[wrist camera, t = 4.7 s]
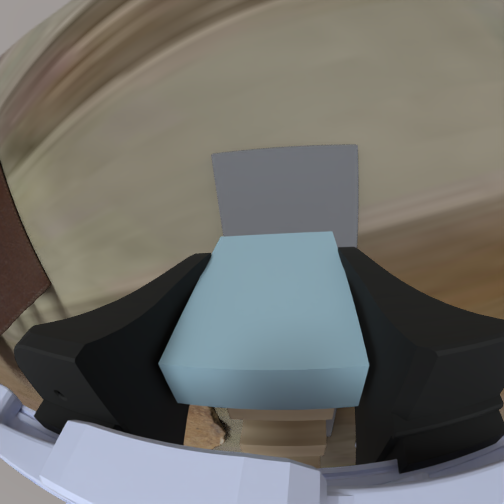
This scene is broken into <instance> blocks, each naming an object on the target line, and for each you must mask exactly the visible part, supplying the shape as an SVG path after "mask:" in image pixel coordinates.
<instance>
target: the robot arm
mask: <svg viewBox="0 0 504 504" xmlns="http://www.w3.org/2000/svg"><path fill="white" fill-rule="evenodd" d="M338 254H339V257H340V260H341V263H342V266H343V268H344V270H345V273H346V277H347V280H348V284H349V287H350V291H351V294H352V298H353V302H354V305H355V309H356V313H357V317H358V320H359V324H360V328H361V332H362V336H363V341H364V345H365V349H366V353H367V358H368V362H369V368H368V372H367V376H366V380H365V384H364V387H363V391H362V394H361V398H360V401H359V405H358V406H355V419H356V443H355V447H356V465H353V466H344V467H332V468H315V467H313V466H311V465H307V464H304V463H301V462H297V461H294V460H291V459H288V458H283V457H273V456H265V455H258V454H251V453H242V452H230V451H220V450H211V449H203V448H196V447H190V446H184V437H185V430H186V423H187V417H188V411H189V406H190V404H182V403H177V401H176V399H175V397H174V395H173V393H172V391H171V389H170V387H169V385H168V383H167V381H166V379H165V377H164V375H163V373H162V371H161V369H160V366H159V364H158V363H159V361H160V359H161V357H162V355H163V353H164V350H165V348H166V346H167V344H168V342H169V340H170V338H171V336H172V334H173V331H174V329H175V327H176V325H177V323H178V321H179V319H180V317H181V315H182V313H183V311H184V309H185V307H186V305H187V303H188V300H189V298H190V296H191V294H192V292H193V290H194V288H195V286H196V284H197V282H198V280H199V278H200V276H201V275H202V273H203V272H204V270H205V268H206V266H207V264H208V262H209V260H210V258H211V253H199V254H194V255H192V256H190V257H188V258H187V259H185V260H183V261H182V262H180V263H179V264H177V265H176V266H174V267H173V268H171V269H170V270H168V271H167V272H165V273H164V274H162V275H161V276H159V277H158V278H156V279H154V280H153V281H151V282H149V283H148V284H146V285H145V286H143V287H141V288H140V289H138V290H136V291H134V292H133V293H131V294H129V295H127V296H125V297H123V298H121V299H119V300H117V301H114V302H112V303H110V304H107V305H105V306H102V307H100V308H97V309H95V310H93V311H90V312H87V313H84V314H81V315H78V316H74V317H71V318H67V319H63V320H59V321H55V322H50V323H45V324H40V325H35V326H33V327H32V328H30V329H29V331H28V332H27V333H26V334H25V335H24V336H23V337H22V339H21V340H20V341H19V342H18V343H17V344H16V346H15V348H14V355H15V360H16V362H17V364H18V366H19V368H20V369H21V371H22V372H23V374H24V375H25V377H26V378H27V379H28V381H29V382H30V383H31V384H32V386H33V387H34V388H35V390H36V391H37V392H38V393H39V395H40V396H41V397H42V398H43V399H44V400H43V402H42V403H41V405H40V406H39V408H38V410H37V411H34V410H32V409H30V408H28V407H26V406H24V405H22V402H21V401H20V400H19V399H18V397H17V396H16V395H15V394H14V393H13V392H12V391H11V390H10V389H8V388H7V387H5V386H3V385H2V384H0V458H1V459H3V460H4V461H5V462H6V463H8V464H9V465H10V466H11V467H13V468H14V469H16V470H17V471H18V472H20V473H21V474H22V475H24V476H25V477H27V478H28V479H29V480H31V481H32V482H34V483H35V484H37V485H39V486H40V487H42V488H43V489H44V490H46V491H48V492H50V493H51V494H53V495H54V496H56V497H58V498H60V499H61V500H63V501H65V502H66V504H504V421H503V419H502V416H501V414H500V411H499V409H501V408H502V407H503V401H502V398H501V396H500V393H501V391H502V390H503V388H504V320H503V319H498V318H493V317H489V316H484V315H480V314H476V313H473V312H469V311H466V310H463V309H460V308H457V307H454V306H451V305H449V304H446V303H444V302H442V301H439V300H437V299H435V298H432V297H430V296H428V295H426V294H424V293H422V292H420V291H418V290H416V289H415V288H413V287H411V286H409V285H407V284H406V283H404V282H402V281H401V280H399V279H398V278H396V277H395V276H393V275H392V274H390V273H389V272H388V271H386V270H385V269H383V268H382V267H381V266H379V265H378V264H377V263H375V262H374V261H373V260H372V259H370V258H369V257H368V256H366V255H365V254H364V253H363V252H361V251H360V250H359V249H357V248H356V247H338Z"/></svg>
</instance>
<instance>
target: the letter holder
mask: <svg viewBox="0 0 504 504" xmlns="http://www.w3.org/2000/svg"><path fill="white" fill-rule="evenodd" d="M50 285H51V283H50V281H49V280H48V278H47V276H46V274H45V272H44V270H43V268H42V266H41V264H40V262H39V260H38V258H37V256H36V254H35V252H34V250H33V248H32V246H31V243H30V241H29V239H28V237H27V235H26V232H25V230H24V228H23V226H22V223H21V221H20V218H19V216H18V213H17V211H16V208H15V205H14V203H13V200H12V197H11V195H10V192H9V189H8V187H7V183H6V181H5V177H4V175H3V171H2V168H1V164H0V335H1V334H3V333H4V332H5V331H6V330H7V329H8V328H9V327H10V326H11V324H12V323H13V322H14V321H15V320H16V319H17V318H18V317H19V316H20V315H21V314H22V313H23V312H24V310H26V309H27V308H28V307H29V306H30V305H31V304H32V303H34V301H35V300H36V299H37V298H38V297H39V296H41V295H42V293H44V291H45V290H46V289H47V288H48V287H49V286H50Z"/></svg>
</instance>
